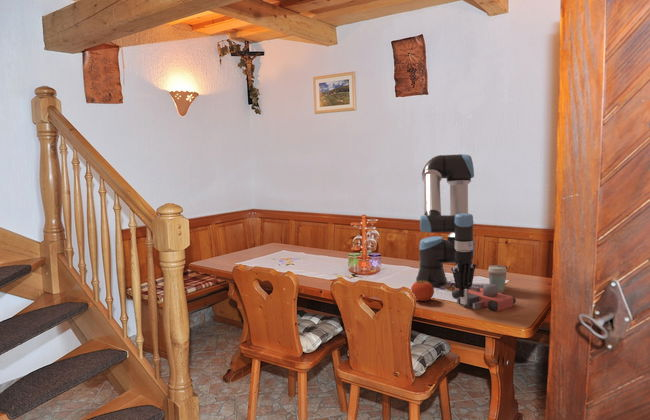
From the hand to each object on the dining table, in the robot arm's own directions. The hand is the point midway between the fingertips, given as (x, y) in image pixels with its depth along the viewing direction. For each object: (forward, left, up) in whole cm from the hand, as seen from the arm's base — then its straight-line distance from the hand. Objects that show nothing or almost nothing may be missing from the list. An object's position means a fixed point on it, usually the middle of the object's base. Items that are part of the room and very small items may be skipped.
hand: (463, 303), depth 204 cm
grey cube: (0, +4, -1) cm, 4 cm away
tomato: (-17, -8, -2) cm, 19 cm away
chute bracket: (0, +4, -1) cm, 4 cm away
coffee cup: (-5, +28, -2) cm, 29 cm away
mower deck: (0, +12, -1) cm, 12 cm away
